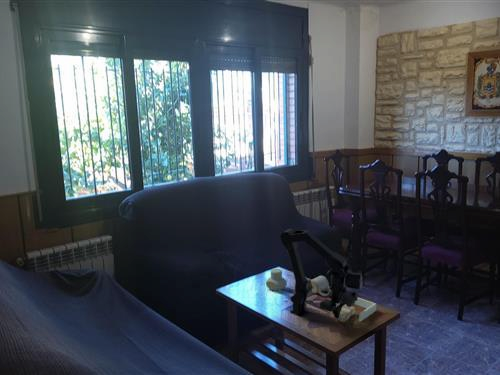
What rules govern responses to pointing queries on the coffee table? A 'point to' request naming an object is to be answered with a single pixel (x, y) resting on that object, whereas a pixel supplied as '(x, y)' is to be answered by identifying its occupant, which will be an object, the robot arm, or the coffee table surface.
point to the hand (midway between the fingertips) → (336, 318)
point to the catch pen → (366, 304)
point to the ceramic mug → (320, 285)
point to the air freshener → (276, 280)
